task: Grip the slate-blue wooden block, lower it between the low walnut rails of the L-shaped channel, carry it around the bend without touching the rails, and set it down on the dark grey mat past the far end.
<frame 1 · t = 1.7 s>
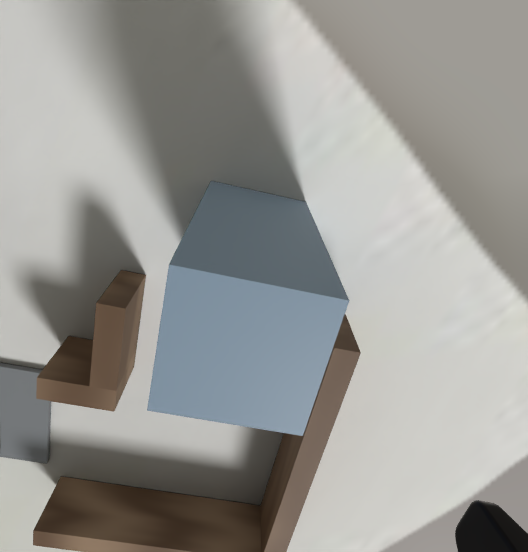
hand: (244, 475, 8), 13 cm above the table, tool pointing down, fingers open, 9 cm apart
slate block: (248, 236, 20), on the table
rail channel: (173, 410, 24), on the table
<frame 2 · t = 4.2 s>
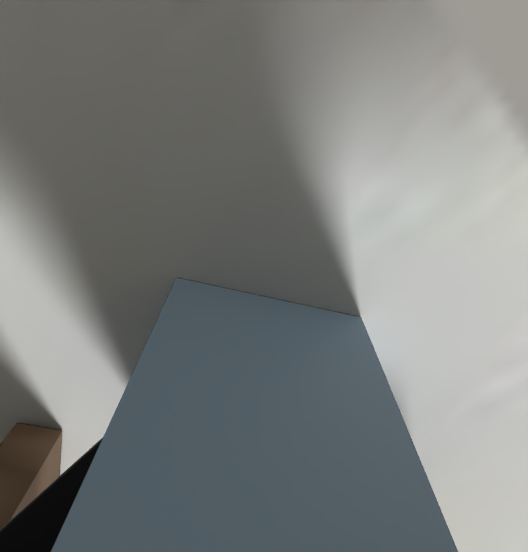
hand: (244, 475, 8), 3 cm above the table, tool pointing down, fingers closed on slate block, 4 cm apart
slate block: (249, 373, 11), on the table, touching gripper
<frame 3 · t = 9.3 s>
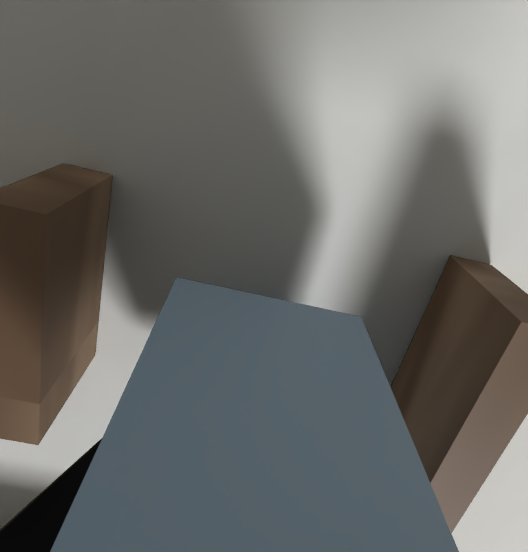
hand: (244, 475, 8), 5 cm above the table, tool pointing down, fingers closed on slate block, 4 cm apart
slate block: (249, 373, 11), point 2 cm above the table, touching gripper
rail channel: (166, 432, 14), on the table
when the fingers open (4 cm above the table, at t = 14.4 s): slate block stays where it is, resting on grey mat.
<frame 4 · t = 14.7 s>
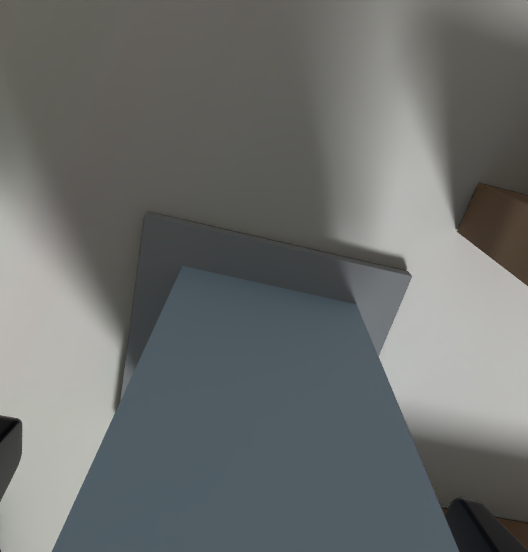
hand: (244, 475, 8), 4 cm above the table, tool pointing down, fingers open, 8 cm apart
grey mat: (251, 352, 12), on the table
slate block: (251, 358, 11), resting on grey mat
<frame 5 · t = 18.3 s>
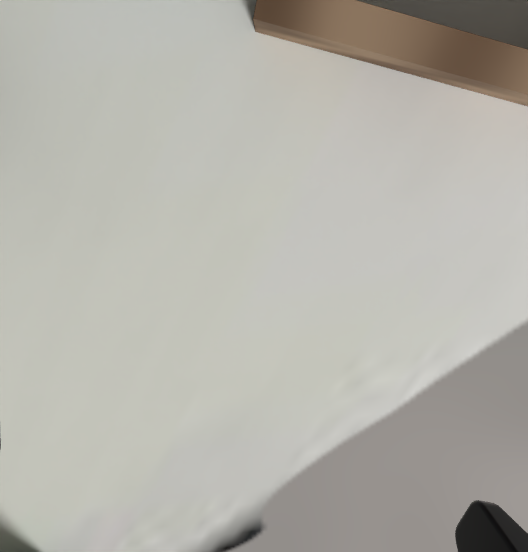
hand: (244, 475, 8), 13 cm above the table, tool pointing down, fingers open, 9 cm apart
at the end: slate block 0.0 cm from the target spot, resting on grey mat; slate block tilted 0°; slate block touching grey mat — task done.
